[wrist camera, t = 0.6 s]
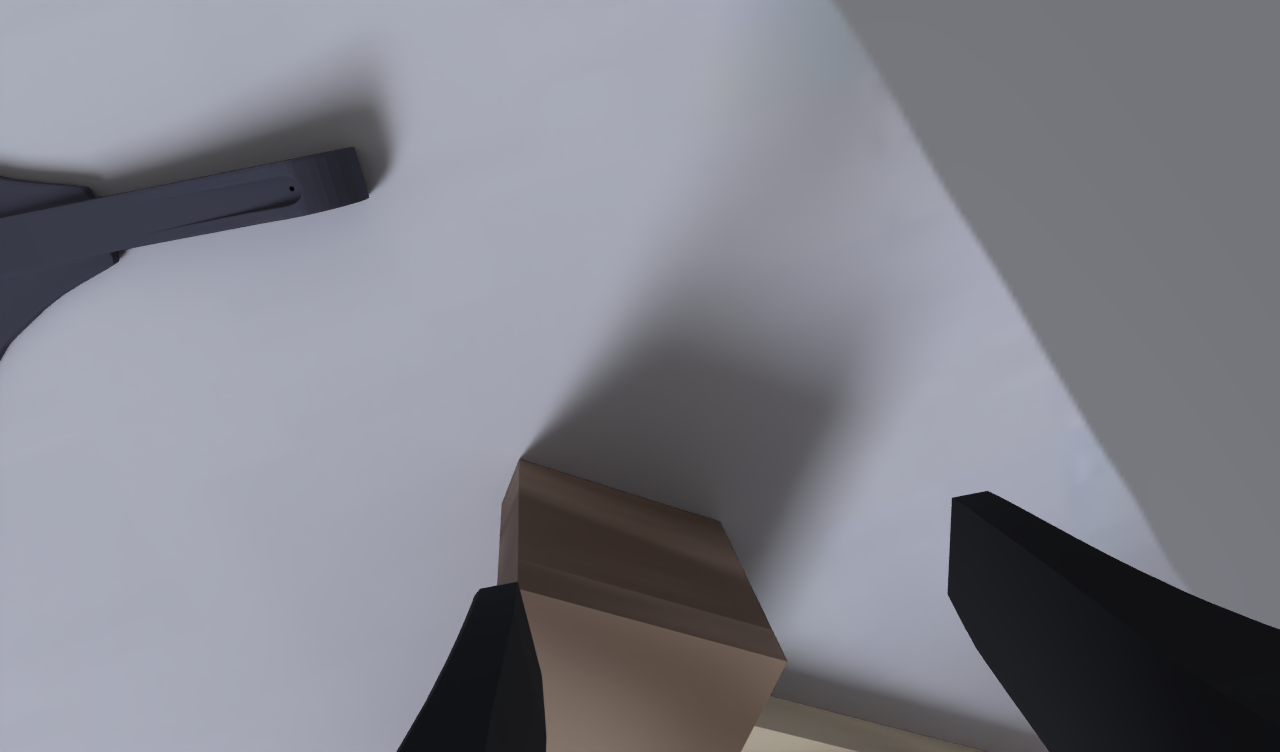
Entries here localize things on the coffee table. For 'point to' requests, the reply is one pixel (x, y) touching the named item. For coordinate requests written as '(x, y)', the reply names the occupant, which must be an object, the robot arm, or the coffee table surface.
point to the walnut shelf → (634, 619)
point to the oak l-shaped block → (832, 733)
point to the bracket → (145, 222)
